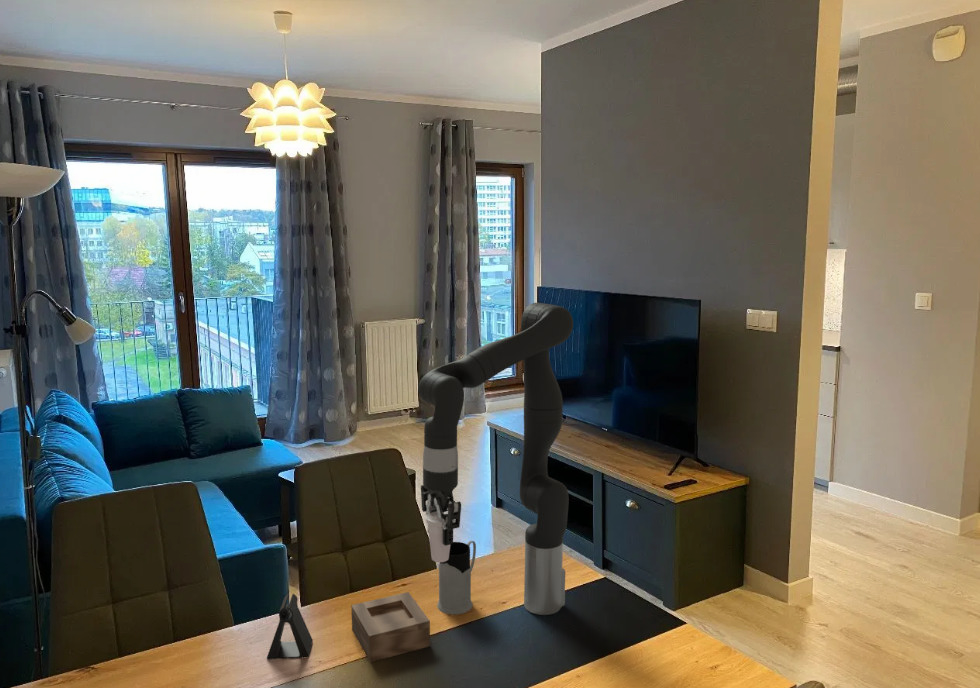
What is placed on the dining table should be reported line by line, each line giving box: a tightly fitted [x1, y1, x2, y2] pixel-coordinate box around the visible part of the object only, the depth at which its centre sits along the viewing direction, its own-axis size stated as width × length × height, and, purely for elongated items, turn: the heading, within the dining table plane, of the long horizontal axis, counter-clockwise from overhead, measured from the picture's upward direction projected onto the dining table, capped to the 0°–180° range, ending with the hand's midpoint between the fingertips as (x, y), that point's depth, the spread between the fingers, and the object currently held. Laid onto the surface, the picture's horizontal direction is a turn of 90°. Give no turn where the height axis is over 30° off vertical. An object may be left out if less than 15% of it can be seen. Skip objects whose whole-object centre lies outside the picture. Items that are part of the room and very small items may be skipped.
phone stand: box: [266, 593, 314, 660], centre depth 161 cm, size 9×6×12 cm, turn 95°
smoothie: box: [425, 511, 455, 563], centre depth 159 cm, size 6×6×14 cm
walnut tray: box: [351, 591, 431, 663], centre depth 167 cm, size 14×14×6 cm
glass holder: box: [436, 540, 477, 615], centre depth 183 cm, size 9×14×15 cm, turn 151°
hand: (440, 538), depth 160 cm, fingers closed on smoothie, 6 cm apart
